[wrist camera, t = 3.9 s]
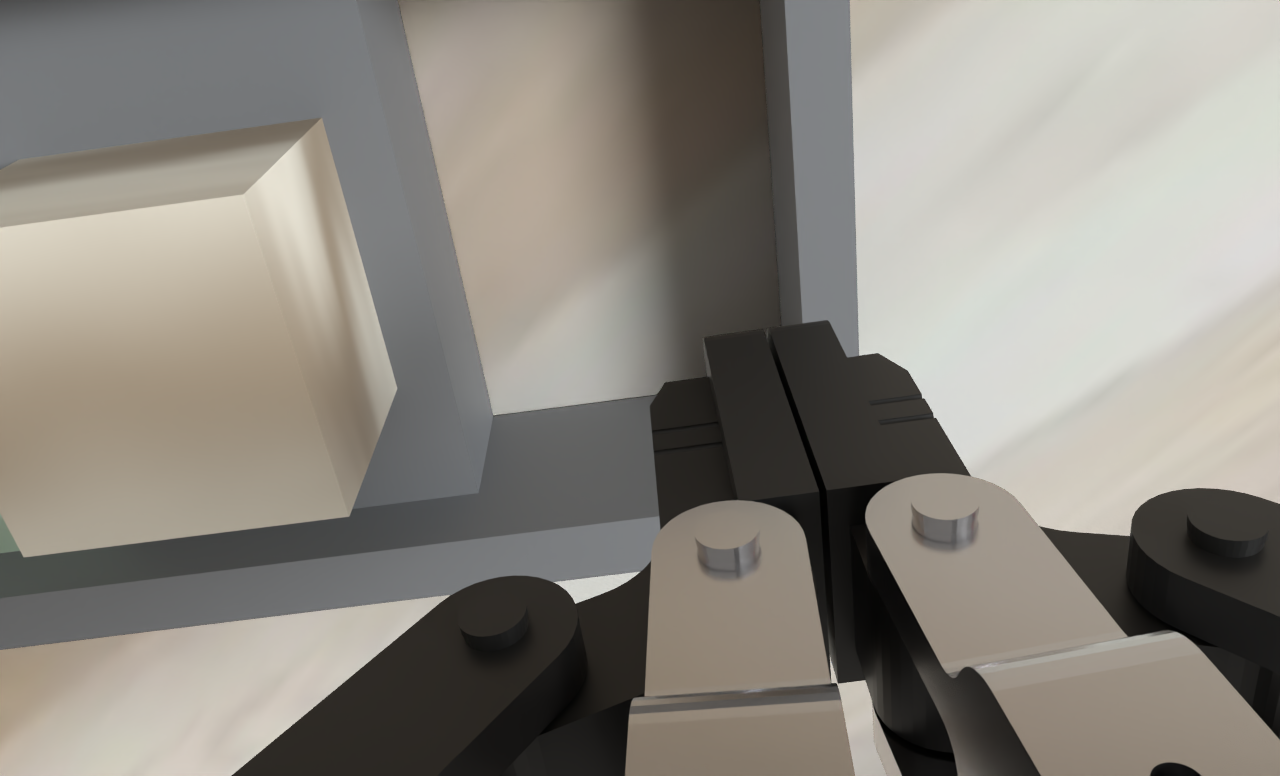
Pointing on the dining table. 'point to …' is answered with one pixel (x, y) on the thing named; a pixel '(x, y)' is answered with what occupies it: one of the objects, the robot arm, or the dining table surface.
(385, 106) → the trap lane
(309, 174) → the block
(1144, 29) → the dining table surface
